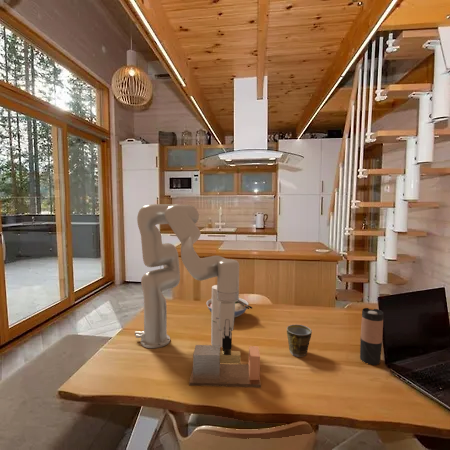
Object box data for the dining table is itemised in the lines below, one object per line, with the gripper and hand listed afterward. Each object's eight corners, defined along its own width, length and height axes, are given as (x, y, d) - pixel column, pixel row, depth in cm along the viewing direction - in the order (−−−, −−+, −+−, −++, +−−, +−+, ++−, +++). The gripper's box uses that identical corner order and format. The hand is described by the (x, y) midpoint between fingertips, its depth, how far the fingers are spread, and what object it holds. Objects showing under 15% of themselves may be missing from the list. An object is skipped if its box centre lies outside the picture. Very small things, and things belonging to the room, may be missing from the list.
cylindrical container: (225, 348, 126) (226, 290, 124) (209, 346, 127) (210, 288, 125) (228, 340, 133) (229, 285, 131) (213, 338, 134) (214, 284, 132)
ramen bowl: (199, 311, 166) (199, 297, 166) (235, 305, 176) (235, 292, 175) (216, 329, 144) (217, 313, 143) (257, 321, 153) (258, 306, 153)
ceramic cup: (290, 344, 130) (291, 322, 129) (313, 351, 125) (314, 327, 124) (279, 358, 118) (280, 334, 118) (305, 365, 113) (306, 340, 113)
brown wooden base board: (189, 385, 100) (189, 358, 100) (193, 365, 112) (193, 341, 112) (260, 387, 100) (261, 360, 99) (257, 367, 112) (258, 343, 111)
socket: (249, 379, 102) (250, 356, 102) (248, 368, 109) (249, 346, 109) (259, 380, 102) (260, 356, 102) (257, 368, 109) (258, 346, 109)
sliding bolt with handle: (195, 362, 104) (196, 329, 103) (196, 358, 107) (197, 325, 106) (240, 363, 104) (240, 330, 103) (239, 359, 107) (240, 326, 106)
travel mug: (372, 367, 113) (375, 316, 111) (355, 357, 120) (357, 309, 118) (385, 362, 116) (388, 313, 115) (367, 353, 123) (370, 306, 121)
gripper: (218, 288, 112) (217, 335, 113) (215, 303, 96) (215, 358, 97) (238, 288, 112) (237, 335, 113) (239, 303, 95) (238, 358, 97)
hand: (227, 345), depth 105 cm, fingers closed on sliding bolt with handle, 3 cm apart
